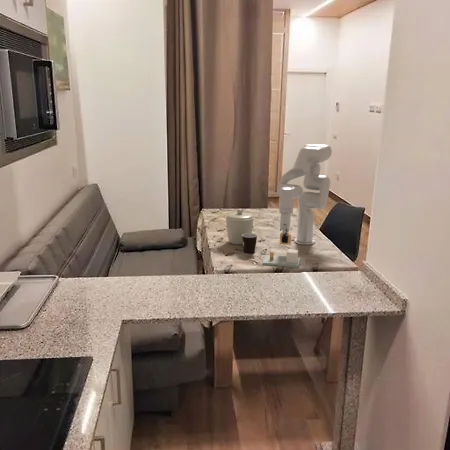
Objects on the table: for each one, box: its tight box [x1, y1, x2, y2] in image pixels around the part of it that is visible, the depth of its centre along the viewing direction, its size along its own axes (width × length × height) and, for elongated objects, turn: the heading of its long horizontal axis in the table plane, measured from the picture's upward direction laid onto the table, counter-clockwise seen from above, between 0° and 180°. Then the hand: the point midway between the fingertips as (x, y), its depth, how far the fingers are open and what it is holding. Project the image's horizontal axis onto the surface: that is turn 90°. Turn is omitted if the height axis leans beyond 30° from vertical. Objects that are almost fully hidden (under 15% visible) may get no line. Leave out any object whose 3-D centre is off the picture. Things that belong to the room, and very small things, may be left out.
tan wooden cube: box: [279, 231, 292, 246], centre depth 251 cm, size 6×6×6 cm
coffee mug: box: [242, 233, 258, 255], centre depth 258 cm, size 12×9×10 cm
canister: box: [224, 208, 256, 246], centre depth 273 cm, size 18×18×21 cm
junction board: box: [262, 248, 301, 268], centre depth 241 cm, size 13×19×7 cm
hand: (285, 240), depth 251 cm, fingers closed on tan wooden cube, 5 cm apart
